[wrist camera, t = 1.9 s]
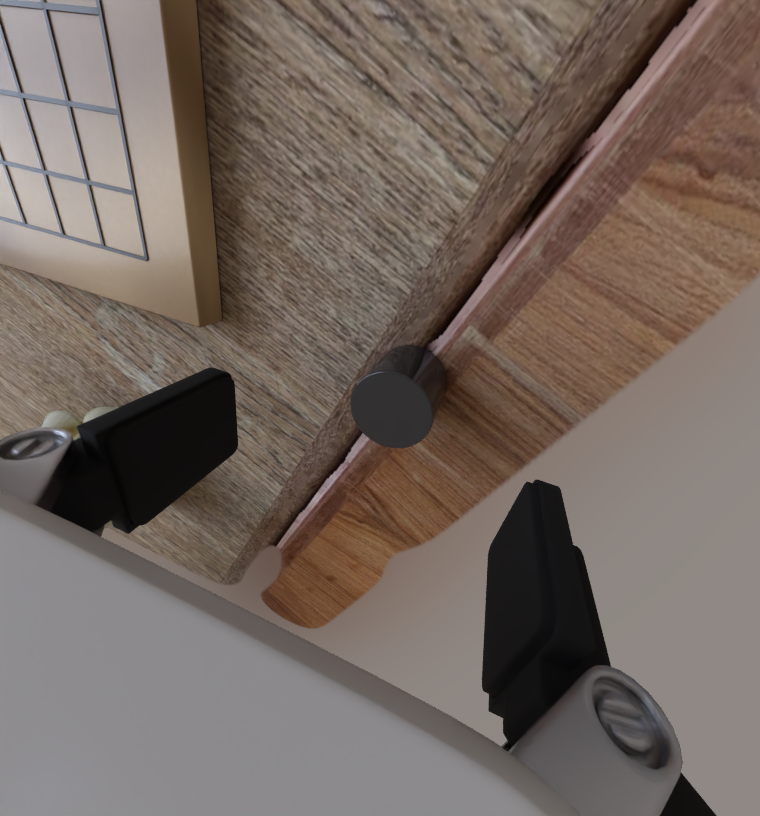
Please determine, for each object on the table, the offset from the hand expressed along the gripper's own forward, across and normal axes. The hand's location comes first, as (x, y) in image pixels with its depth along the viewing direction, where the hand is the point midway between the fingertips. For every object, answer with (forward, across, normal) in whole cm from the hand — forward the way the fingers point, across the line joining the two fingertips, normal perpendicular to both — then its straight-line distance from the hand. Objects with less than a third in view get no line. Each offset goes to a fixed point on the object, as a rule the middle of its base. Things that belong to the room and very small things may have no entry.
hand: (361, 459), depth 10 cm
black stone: (+6, 0, 0) cm, 6 cm away
